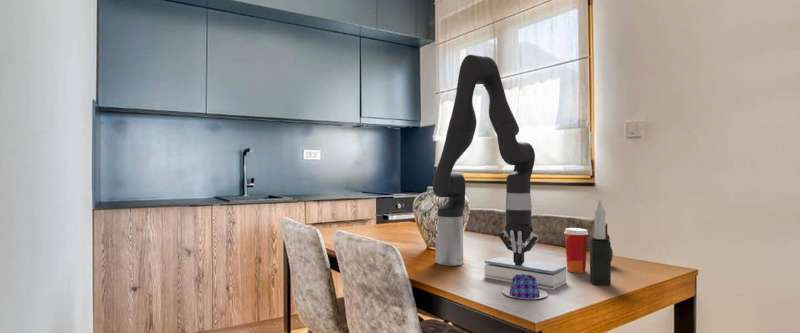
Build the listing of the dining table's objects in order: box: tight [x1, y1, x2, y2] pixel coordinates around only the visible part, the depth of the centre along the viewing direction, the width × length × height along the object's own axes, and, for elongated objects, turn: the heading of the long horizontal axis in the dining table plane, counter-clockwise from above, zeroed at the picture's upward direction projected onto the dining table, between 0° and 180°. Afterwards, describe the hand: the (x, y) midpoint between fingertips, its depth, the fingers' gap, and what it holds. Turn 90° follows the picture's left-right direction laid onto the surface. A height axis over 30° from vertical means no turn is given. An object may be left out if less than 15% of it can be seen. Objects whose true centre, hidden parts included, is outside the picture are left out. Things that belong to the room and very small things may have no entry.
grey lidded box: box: [484, 263, 567, 291], centre depth 137 cm, size 22×10×4 cm, turn 49°
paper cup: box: [563, 227, 589, 274], centre depth 149 cm, size 8×8×14 cm
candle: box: [589, 199, 612, 287], centre depth 133 cm, size 5×5×25 cm
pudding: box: [501, 274, 548, 300], centre depth 122 cm, size 12×12×5 cm
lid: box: [484, 256, 567, 274], centre depth 137 cm, size 22×10×1 cm, turn 49°
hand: (519, 264), depth 134 cm, fingers closed
